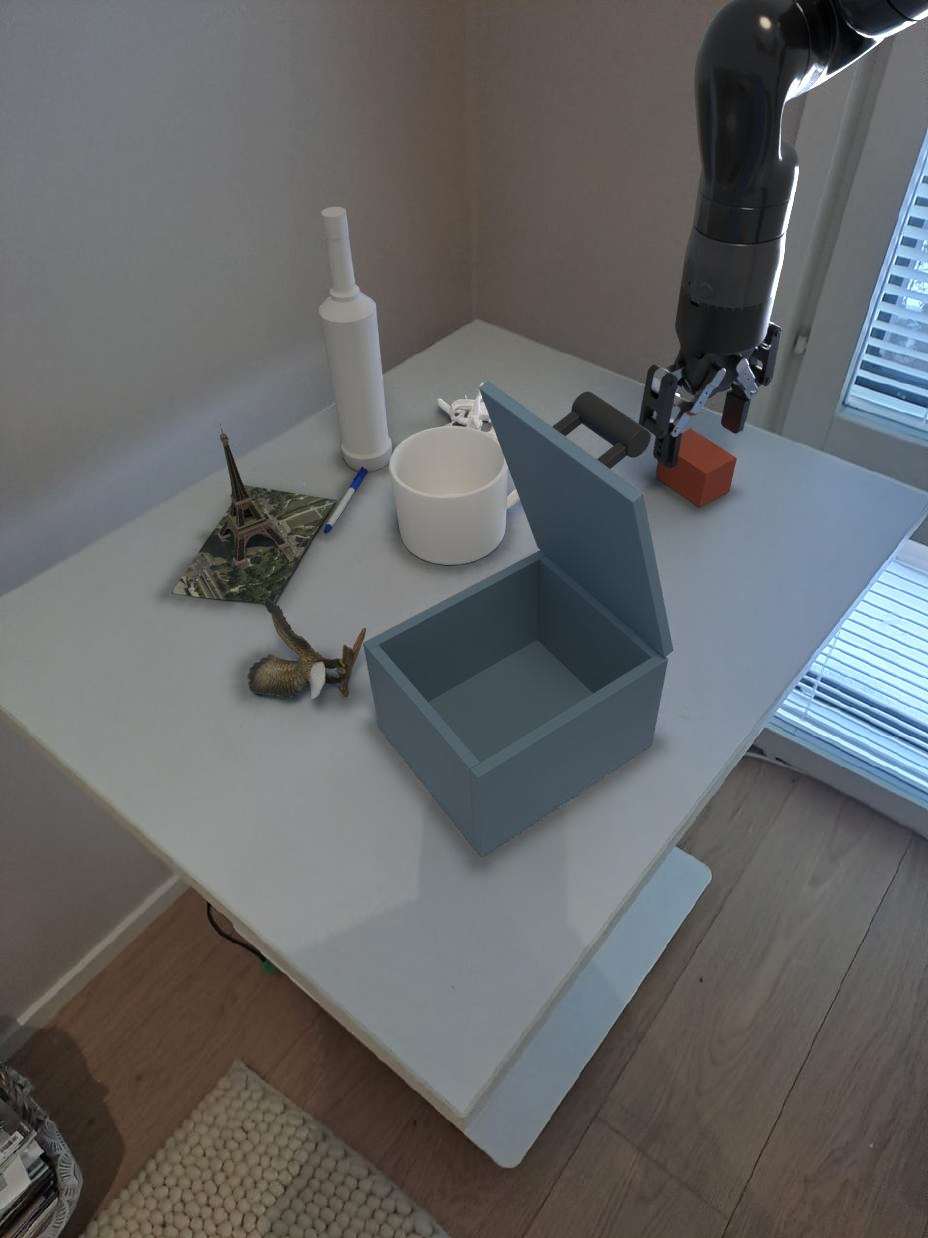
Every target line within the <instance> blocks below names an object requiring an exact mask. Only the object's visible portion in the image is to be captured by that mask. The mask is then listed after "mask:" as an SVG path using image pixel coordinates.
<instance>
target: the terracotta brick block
mask: <svg viewBox="0 0 928 1238" xmlns="http://www.w3.org/2000/svg"><path fill="white" fill-rule="evenodd" d="M681 433H682V438H681V444H680V450H679V456H678V462H677V465H676V466H674V467H672V468H667V467H666V466H664V465H663V464H661V463H660V462H658V461H657V465H656V472H655V478H656V479H658V480H659V481H661V482H662V483H664V484H665V485H666V486H667V487H669V488H671V489H673V490H674V491H675V492H677V493H678V494H680V495H681V496H682V497H684V498H685V499H687V500H688V501H689V502H691V503H692V504H694V505H695V506H697V508H703V507H704V506H705V505H707V504H710V503H711V502H713V501H715V500H716V499H719V498H720V497H722V496H724V495H726V494H727V493H729V492H730V491H731V486H732V483H733V477H734V474H735V468H736V463H737V460H738V458H737V457H736V456H735V455H734V454H732V453H730V452H729V451H728V450H726V449H724V448H722V447H721V446H719V445H718V444H716V443H714V442H713V441H712V440H710V439H708V438H707V437H705V436H704V435H702V434H701V433H699V432H698V431H696V430H694V429H693V428H688V429H687V430H684V431H681Z"/></svg>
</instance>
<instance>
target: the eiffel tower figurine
mask: <svg viewBox="0 0 928 1238" xmlns="http://www.w3.org/2000/svg"><path fill="white" fill-rule="evenodd" d="M219 427H220V430H221V434H220V435H219V440H220V441H221V443H222V447H223V451H224V455H225V461H226V466H227V470H228V475H229V479H230V480H229V481H230V487H231V494H230V495H229V497H230V499H231V504H230V506H229V507H228V509H227V510H226V512H225V513H224V515H223V516H222V518H221V519H220V520H219V522H218V523H217V524H216V526H215V527H214V528H213V530H212V532H211V533H210V534H209V536H208V537H207V539H206V540H205V541H204V543H203V545H202V546H201V547H200V549H199V550H198V552H197V554H196V555H195V557H194V558H193V559H192V561H191V563H190V564H189V565H188V567H187V569H186V570H185V572H184V573H183V575H182V576H181V577H180V579H179V581H178V582H177V584H176V585H175V587H174V588H173V590H172V591H171V594H174V595H181V596H182V595H183V596H190V597H196V598H205V599H211V600H213V599H215V600H223V601H224V600H226V601H227V600H228V601H245V602H254V603H255V602H256V603H263V604H264V599H265V598H267V597H268V598H269V599H271V600H272V601H273V602H274V603H276V601H277V599H278V597H279V596H280V594H281V592H282V591H283V590H284V587H285V586H286V585H287V583H288V581H289V579H290V578H291V577H292V574H293V573H294V571H295V569H296V567H297V566H298V564H299V562H300V560H301V558H302V556H303V555H304V553H305V552H306V549H308V547H309V544H310V543H311V541H312V539H313V537H314V536H315V534H316V533H317V531H318V530H319V528H320V526H321V525H322V524H323V521H324V520H325V519H326V517H327V516H328V515H329V512H330V511H331V510H332V508H333V506H335V504H336V502H337V499H333V498H325V497H319V496H313V495H307V494H302V493H296V492H290V491H283V490H278V489H271V488H265V487H259V486H254V485H253V486H252V485H246V484H244V482H243V480H242V477H241V475H240V474H241V473H240V471H239V470H238V466H237V464H236V461H235V458H234V455H233V453H232V450H231V447H230V443H229V441H230V439H229V437H228V435H227V433H224V430H223V428H222V424H221V423H219Z"/></svg>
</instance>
